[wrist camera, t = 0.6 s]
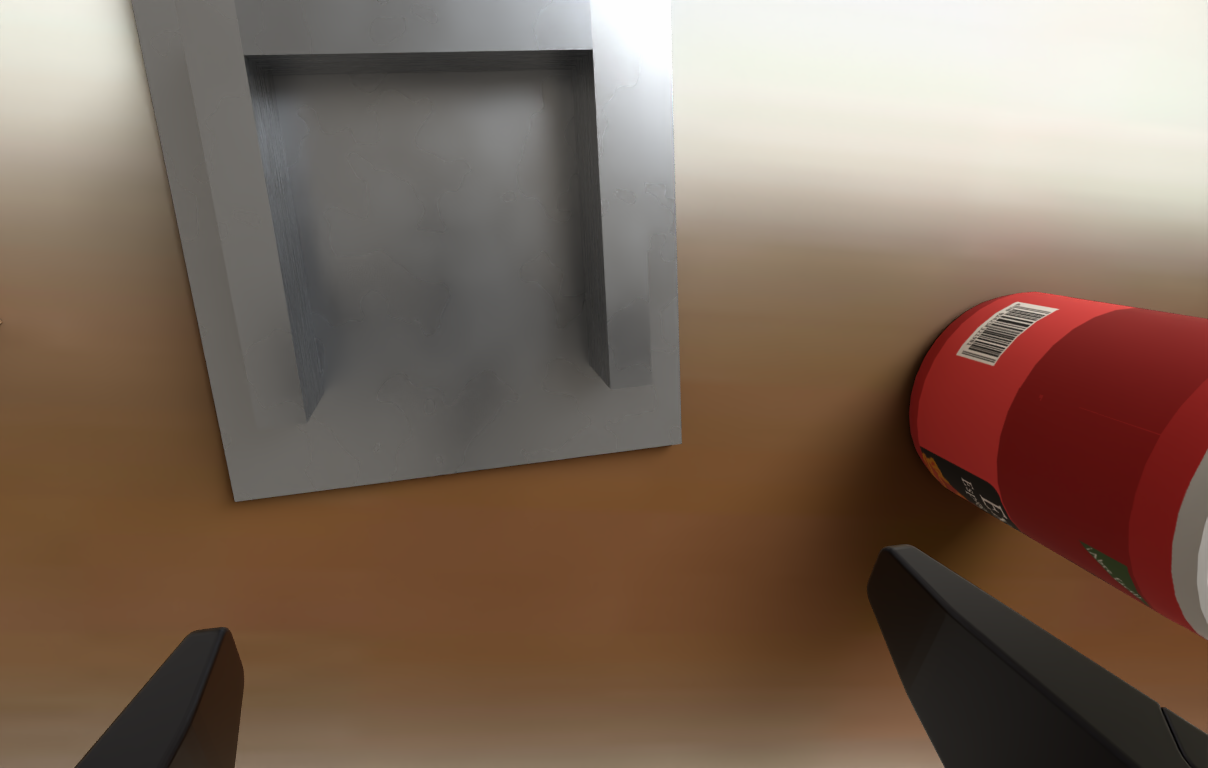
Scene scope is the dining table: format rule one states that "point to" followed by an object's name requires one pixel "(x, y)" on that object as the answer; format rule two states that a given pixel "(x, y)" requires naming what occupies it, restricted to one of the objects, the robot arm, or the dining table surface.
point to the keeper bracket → (423, 229)
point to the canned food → (1080, 436)
